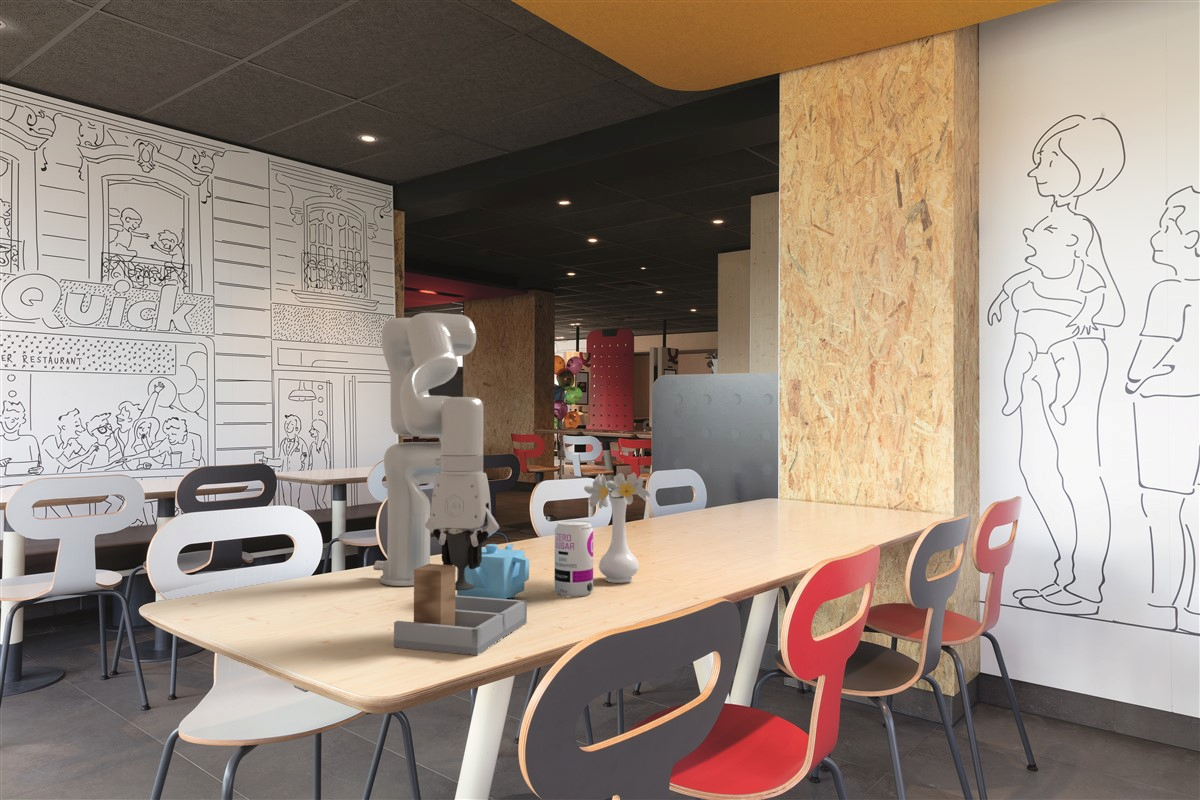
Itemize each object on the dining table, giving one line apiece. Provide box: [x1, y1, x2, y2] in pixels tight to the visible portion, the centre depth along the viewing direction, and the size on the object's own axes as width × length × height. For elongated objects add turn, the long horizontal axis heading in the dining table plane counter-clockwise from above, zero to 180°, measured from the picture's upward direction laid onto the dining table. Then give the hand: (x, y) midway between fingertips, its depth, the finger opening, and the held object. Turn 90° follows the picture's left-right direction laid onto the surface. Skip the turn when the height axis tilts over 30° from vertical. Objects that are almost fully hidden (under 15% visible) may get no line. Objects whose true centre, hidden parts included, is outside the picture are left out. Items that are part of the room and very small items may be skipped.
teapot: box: [456, 543, 530, 599], centre depth 157 cm, size 16×18×11 cm
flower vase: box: [583, 472, 651, 584], centre depth 175 cm, size 13×18×25 cm
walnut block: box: [413, 563, 457, 626], centre depth 128 cm, size 5×5×11 cm
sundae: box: [443, 528, 480, 591], centre depth 137 cm, size 7×7×15 cm
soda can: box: [554, 520, 594, 598], centre depth 162 cm, size 8×8×15 cm
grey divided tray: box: [393, 594, 528, 656], centre depth 131 cm, size 15×20×4 cm
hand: (461, 565), depth 137 cm, fingers closed on sundae, 4 cm apart
